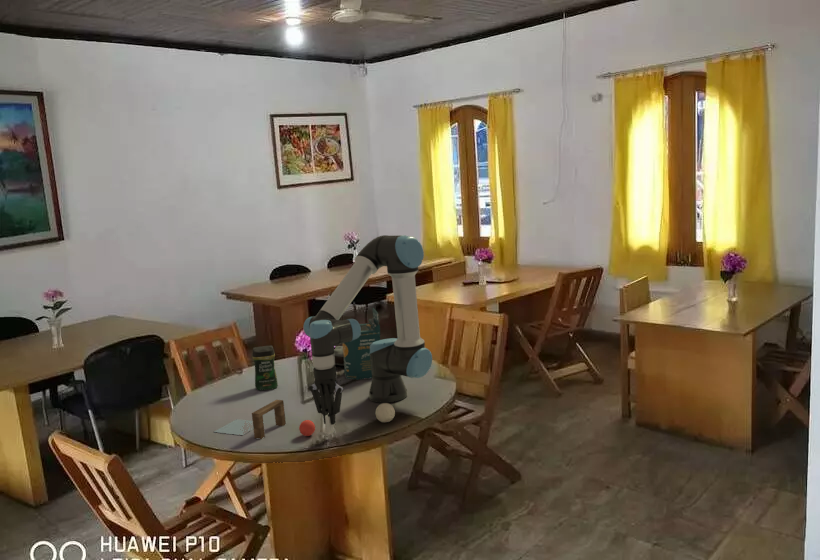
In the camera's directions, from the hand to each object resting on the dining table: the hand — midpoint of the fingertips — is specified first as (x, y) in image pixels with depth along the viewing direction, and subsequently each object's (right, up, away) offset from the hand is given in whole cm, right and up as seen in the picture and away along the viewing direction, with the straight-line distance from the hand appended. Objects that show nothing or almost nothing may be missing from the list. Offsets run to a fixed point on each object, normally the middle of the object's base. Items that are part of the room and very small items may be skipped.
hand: (330, 432), depth 239 cm
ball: (-9, +1, +4) cm, 10 cm away
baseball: (+19, +1, +12) cm, 22 cm away
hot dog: (-6, +12, +91) cm, 92 cm away
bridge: (-23, -2, +11) cm, 26 cm away
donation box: (+6, +10, +74) cm, 75 cm away
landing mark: (-35, -2, +17) cm, 40 cm away
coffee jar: (-35, +5, +63) cm, 72 cm away
